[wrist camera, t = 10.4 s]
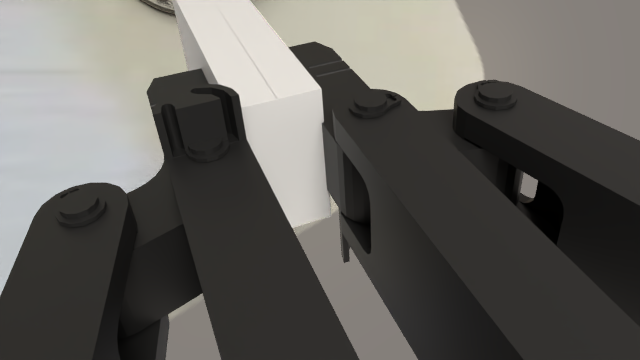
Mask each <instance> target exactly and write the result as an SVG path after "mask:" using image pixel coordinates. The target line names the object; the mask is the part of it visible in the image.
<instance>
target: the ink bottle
mask: <svg viewBox="0 0 640 360" xmlns="http://www.w3.org/2000/svg"><path fill="white" fill-rule="evenodd" d="M142 1H143V2H145V3H147V4H148V5H150V6H152V7H154V8H157V9H159V10H161V11H164V12H168V13H171V14H175V10H174V6H173V1H172V0H142Z"/></svg>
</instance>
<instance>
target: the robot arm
mask: <svg viewBox="0 0 640 360" xmlns="http://www.w3.org/2000/svg"><path fill="white" fill-rule="evenodd" d="M172 1H173V6H174V10H175V15H176V19H177V24H178V28H179V32H180V37H181V41H182V46H183V50H184V55H185V59H186V63H187V68H188V71H186V72H182V73H177V74H173V75H168V76H164V77H159V78H155V79H153V81H152V83H151V85H150V87H149V88H148V90H147V95H148V98H149V102H150V106H151V109H152V113H153V117H154V121H155V124H156V128H157V131H158V135H159V139H160V142H161V146H162V149H163V153H164V163H163V166H162V168H161V170H160V171H159V172H158V173H157V175H156V176H155V177H153V178H152V179H151V180H150V181H149V182H147V183H146V184H144V185H142V186H141V187H139V188H137V189H135V190H133V191H131V192H129V193H127V194H126V193H125V192H124V191H123V190H122V189H121V188H120V187H119V186H116V185H112V184H109V183H87V184H83V185H79V186H74V187H71V188H69V189H67V190H64V191H62V192H60V193H58V194H56V195H55V196H53V197H52V198H51V199H49V200H48V201H47V202H46V203H44V204H43V205H42V206H41V208H40V209H39V210H38V212H37V213H36V215H35V216H34V218H33V221H32V223H31V225H30V228H29V230H28V232H27V235H26V237H25V239H24V242H23V244H22V246H21V249H20V251H19V254H18V256H17V258H16V261H15V263H14V265H13V268H12V270H11V272H10V275H9V277H8V280H7V282H6V284H5V287H4V289H3V291H2V294H1V296H0V360H165V357H166V348H167V340H168V330H169V319H168V314H169V313H171V312H172V311H174V310H176V309H177V308H179V307H181V306H182V305H184V304H185V303H187V302H189V301H190V300H192V299H194V298H195V297H197V296H199V295H200V294H202V293H203V296H204V299H205V303H206V307H207V310H208V313H209V317H210V321H211V324H212V328H213V331H214V335H215V338H216V342H217V345H218V349H219V353H220V356H221V360H359V358H358V356H357V354H356V352H355V351H354V348H353V346H352V344H351V342H350V341H349V339H348V337H347V335H346V333H345V331H344V329H343V327H342V325H341V323H340V321H339V319H338V317H337V315H336V314H335V311H334V309H333V307H332V305H331V303H330V301H329V299H328V297H327V296H326V293H325V292H324V290H323V288H322V286H321V284H320V282H319V280H318V278H317V276H316V274H315V272H314V270H313V268H312V266H311V264H310V262H309V260H308V258H307V256H306V254H305V252H304V250H303V249H302V247H301V245H300V243H299V241H298V239H297V237H296V235H295V233H294V231H293V229H292V228H293V227H297V226H300V225H304V224H307V223H310V222H314V221H317V220H321V219H324V218H327V217H331V206H330V195H331V196H332V198H333V199H334V201H335V202H336V204H337V206H338V207H339V220H340V236H341V251H342V257H343V261H344V263H345V262H348V261H349V249H350V247H351V248H352V250H353V251H354V253H355V255H356V257H357V258H358V260H359V262H360V263H361V265H362V266H363V268H364V270H365V272H366V273H367V275H368V277H369V278H370V280H371V282H372V283H373V285H374V287H375V288H376V290H377V291H378V293H379V295H380V297H381V298H382V300H383V302H384V303H385V305H386V307H387V308H388V310H389V312H390V313H391V315H392V317H393V318H394V320H395V322H396V323H397V325H398V327H399V328H400V330H401V332H402V333H403V335H404V337H405V338H406V340H407V341H408V343H409V345H410V346H411V348H412V350H413V351H414V353H415V355H416V356H417V358H418V360H640V141H639V140H637V139H635V138H633V137H630V136H628V135H626V134H624V133H622V132H620V131H617V130H615V129H613V128H611V127H609V126H606V125H604V124H602V123H600V122H598V121H595V120H593V119H591V118H589V117H587V116H585V115H582V114H580V113H578V112H576V111H574V110H571V109H569V108H567V107H565V106H563V105H560V104H558V103H556V102H554V101H552V100H550V99H547V98H545V97H543V96H541V95H539V94H536V93H534V92H532V91H530V90H528V89H525V88H523V87H521V86H518V85H515V84H511V83H509V82H501V81H497V80H488V81H486V80H483V81H478V82H475V83H471V84H468V85H465V86H464V87H462V88H461V89H459V90H458V91H457V94H456V96H455V100H454V109H451V110H435V111H418V110H417V109H416V108H415V107H414V106H412V105H411V104H410V103H409V102H408V101H407V100H406V99H405V98H404V97H402V96H400V95H399V94H397V93H394V92H391V91H387V90H380V89H370V88H369V87H368V86H367V85H366V84H365V83H364V82H363V80H362V79H361V78H360V77H359V76H358V75H357V74H356V73H355V72H354V71H353V70H352V69H350V67H349V66H348V65H347V64H346V63H345V62H344V61H342V59H341V58H340V56H339V55H338V54H337V53H336V52H335V51H334V50H333V49H332V48H329V47H327V46H324V45H322V44H319V43H317V42H311V43H306V44H301V45H297V46H292V47H287V45H286V44H285V43H284V42H283V40H282V39H281V38H280V37H279V36H278V34H277V33H276V32H275V31H274V29H273V28H272V27H271V26H270V24H269V23H268V22H267V21H266V19H265V18H264V17H263V16H262V15H261V13H260V12H259V11H258V10H257V8H256V7H255V6H254V5H253V3H252V2H251V1H250V0H172ZM524 172H525V173H526V174H528V175H530V176H531V177H533V178H535V179H537V180H538V185H537V190H536V195H535V197H534V198H529V197H527V196H524V195H523V194H522V193H520V190H521V184H522V178H523V173H524Z"/></svg>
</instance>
